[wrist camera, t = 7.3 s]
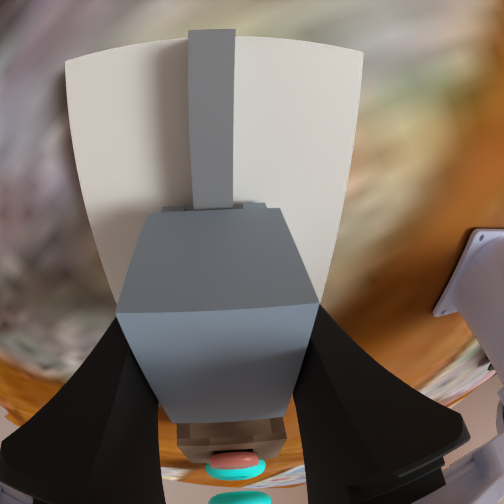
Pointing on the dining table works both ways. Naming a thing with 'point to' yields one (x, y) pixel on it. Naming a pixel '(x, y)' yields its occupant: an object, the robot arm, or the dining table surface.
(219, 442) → the cabinet
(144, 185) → the rail
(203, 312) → the carriage
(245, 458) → the button
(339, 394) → the robot arm
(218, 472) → the donuts
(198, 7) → the dining table surface
